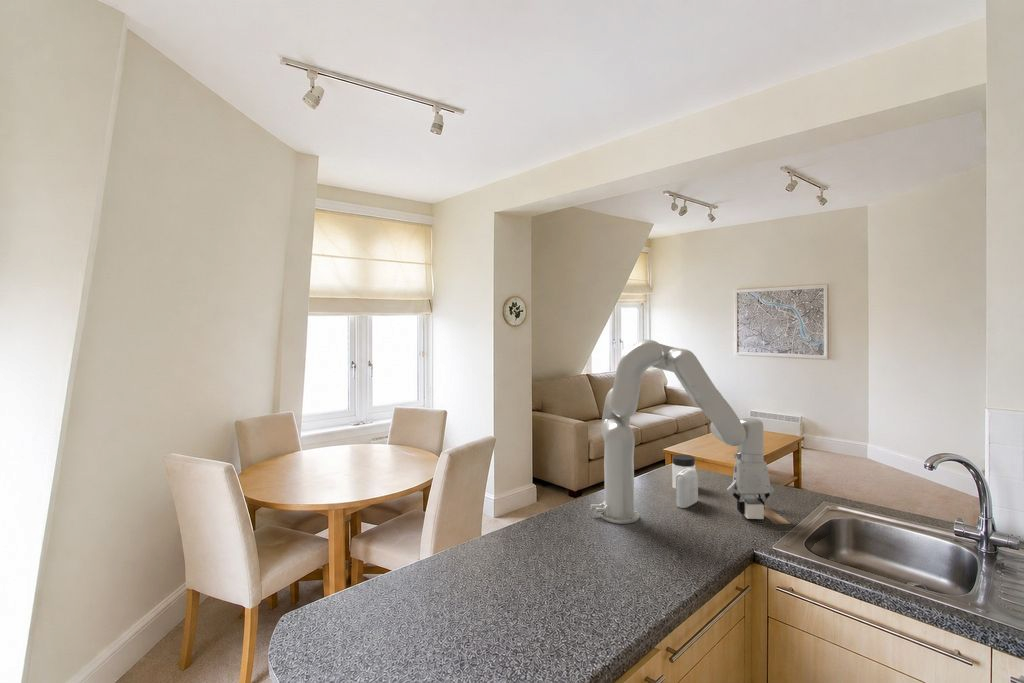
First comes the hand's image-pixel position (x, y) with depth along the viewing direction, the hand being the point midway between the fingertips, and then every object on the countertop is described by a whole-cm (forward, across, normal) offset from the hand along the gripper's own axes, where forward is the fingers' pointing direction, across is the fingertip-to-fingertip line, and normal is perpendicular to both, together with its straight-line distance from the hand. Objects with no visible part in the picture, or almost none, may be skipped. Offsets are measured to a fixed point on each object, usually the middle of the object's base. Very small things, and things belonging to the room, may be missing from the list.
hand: (750, 512), depth 157 cm
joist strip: (+2, +7, +2) cm, 8 cm away
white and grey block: (+1, 0, 0) cm, 1 cm away
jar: (+2, -11, +30) cm, 32 cm away
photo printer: (+2, -16, +13) cm, 21 cm away
